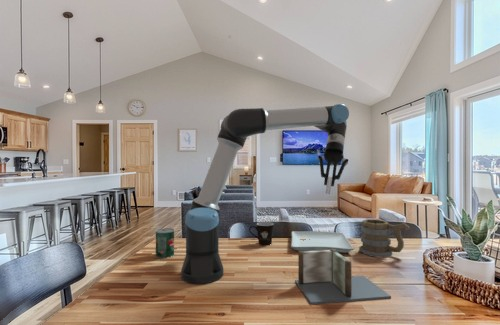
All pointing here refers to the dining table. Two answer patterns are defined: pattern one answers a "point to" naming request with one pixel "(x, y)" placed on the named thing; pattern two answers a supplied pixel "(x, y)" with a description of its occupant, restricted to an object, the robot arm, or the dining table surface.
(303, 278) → the panel
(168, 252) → the canned tomato
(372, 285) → the card
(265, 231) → the coffee mug
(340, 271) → the folding panel
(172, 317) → the dining table surface
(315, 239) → the square plate
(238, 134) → the robot arm
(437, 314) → the dining table surface
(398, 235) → the tankard
